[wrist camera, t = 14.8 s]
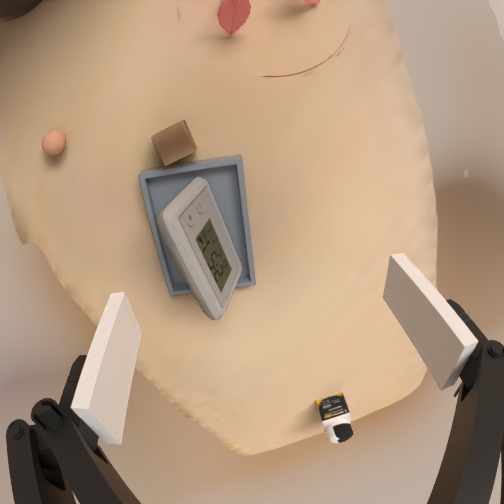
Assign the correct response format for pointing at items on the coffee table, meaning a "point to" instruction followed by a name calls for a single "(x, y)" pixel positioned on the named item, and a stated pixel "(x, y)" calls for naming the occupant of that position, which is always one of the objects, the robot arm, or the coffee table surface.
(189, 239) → the digital clock
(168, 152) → the walnut cube
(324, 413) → the medicine bottle
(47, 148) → the terracotta ball
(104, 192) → the coffee table surface
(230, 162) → the tray
